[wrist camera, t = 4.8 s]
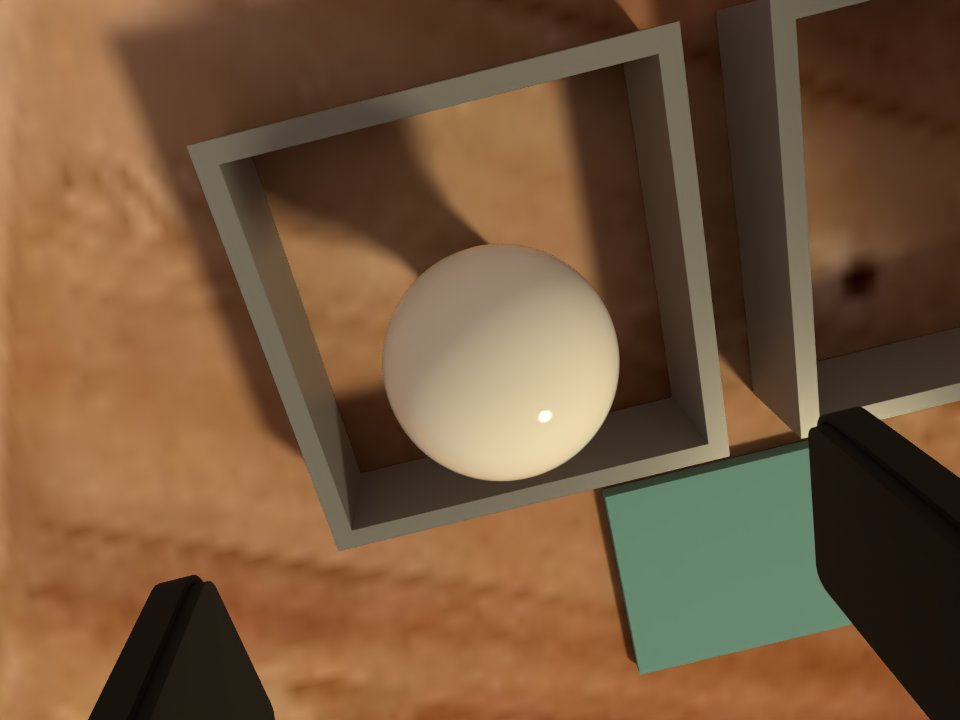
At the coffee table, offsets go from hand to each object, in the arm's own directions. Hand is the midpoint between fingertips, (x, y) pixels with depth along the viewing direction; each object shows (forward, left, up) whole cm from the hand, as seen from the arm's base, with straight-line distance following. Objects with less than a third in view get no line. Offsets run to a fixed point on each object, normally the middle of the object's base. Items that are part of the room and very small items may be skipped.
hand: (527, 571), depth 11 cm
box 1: (0, 0, -17) cm, 17 cm away
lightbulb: (0, 0, -17) cm, 17 cm away
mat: (-9, +15, -17) cm, 25 cm away
